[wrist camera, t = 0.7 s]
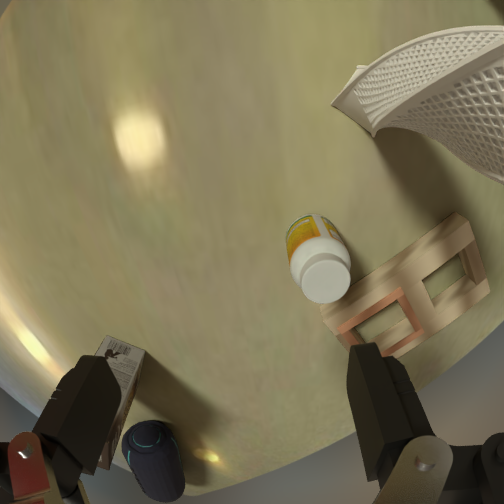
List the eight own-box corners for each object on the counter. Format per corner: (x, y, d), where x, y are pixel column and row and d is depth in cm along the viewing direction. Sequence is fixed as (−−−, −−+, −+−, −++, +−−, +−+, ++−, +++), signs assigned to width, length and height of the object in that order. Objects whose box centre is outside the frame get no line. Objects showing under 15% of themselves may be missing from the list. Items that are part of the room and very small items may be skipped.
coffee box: (139, 387, 44) (109, 472, 29) (102, 372, 43) (64, 452, 29) (147, 349, 41) (110, 445, 26) (105, 333, 40) (56, 421, 25)
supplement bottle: (339, 216, 32) (367, 256, 23) (329, 262, 34) (350, 313, 26) (289, 209, 32) (299, 248, 23) (281, 257, 34) (287, 308, 25)
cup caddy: (455, 211, 31) (469, 221, 28) (479, 280, 35) (491, 292, 32) (319, 306, 37) (323, 323, 34) (362, 360, 40) (368, 377, 37)
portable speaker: (125, 407, 47) (109, 452, 38) (180, 417, 47) (169, 466, 38) (147, 466, 58) (139, 501, 49) (189, 474, 58) (183, 510, 49)
